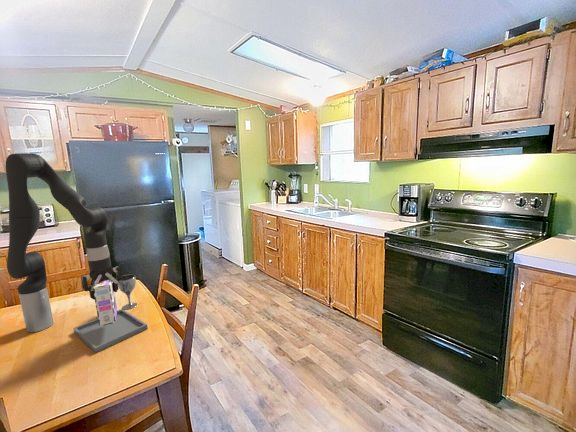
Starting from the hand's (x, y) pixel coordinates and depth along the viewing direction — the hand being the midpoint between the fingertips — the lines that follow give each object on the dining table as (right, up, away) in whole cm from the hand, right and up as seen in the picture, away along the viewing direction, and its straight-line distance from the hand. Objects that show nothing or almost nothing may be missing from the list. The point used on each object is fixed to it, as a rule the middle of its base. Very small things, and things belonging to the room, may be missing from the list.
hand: (105, 295), depth 121 cm
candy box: (+1, -10, +2) cm, 10 cm away
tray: (+1, -16, +3) cm, 16 cm away
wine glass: (-3, -12, +24) cm, 27 cm away
